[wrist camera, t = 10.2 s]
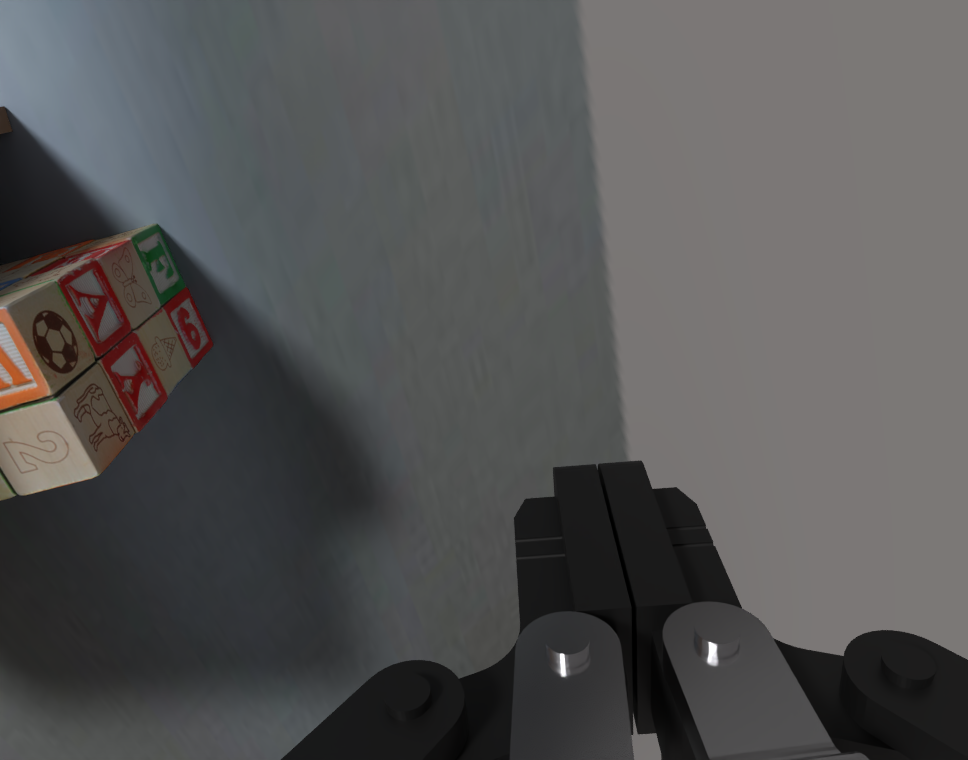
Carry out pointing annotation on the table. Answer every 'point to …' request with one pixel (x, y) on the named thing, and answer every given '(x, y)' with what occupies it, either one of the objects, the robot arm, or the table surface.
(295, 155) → the table surface
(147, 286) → the stack of blocks
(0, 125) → the overhang shelf
